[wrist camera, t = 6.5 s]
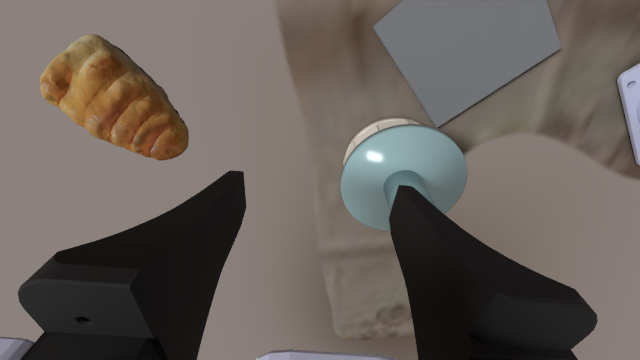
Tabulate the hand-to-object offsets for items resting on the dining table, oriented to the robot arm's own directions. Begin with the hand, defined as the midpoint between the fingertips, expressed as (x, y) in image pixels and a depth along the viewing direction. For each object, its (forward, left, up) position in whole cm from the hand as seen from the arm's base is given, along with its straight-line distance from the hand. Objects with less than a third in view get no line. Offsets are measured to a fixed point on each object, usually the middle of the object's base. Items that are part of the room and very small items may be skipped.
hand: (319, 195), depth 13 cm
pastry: (+11, +11, -11) cm, 19 cm away
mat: (-2, -11, -11) cm, 15 cm away
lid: (-7, -2, -7) cm, 10 cm away
